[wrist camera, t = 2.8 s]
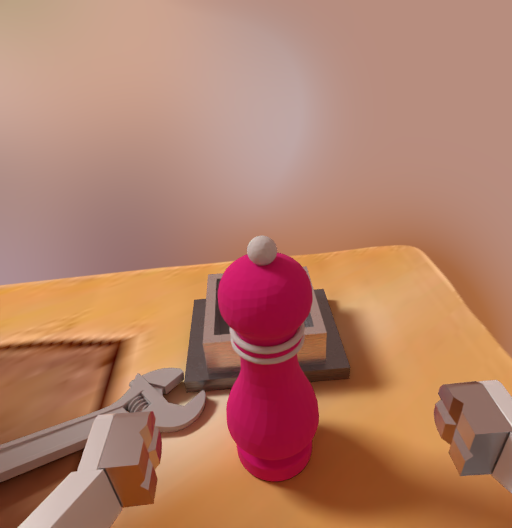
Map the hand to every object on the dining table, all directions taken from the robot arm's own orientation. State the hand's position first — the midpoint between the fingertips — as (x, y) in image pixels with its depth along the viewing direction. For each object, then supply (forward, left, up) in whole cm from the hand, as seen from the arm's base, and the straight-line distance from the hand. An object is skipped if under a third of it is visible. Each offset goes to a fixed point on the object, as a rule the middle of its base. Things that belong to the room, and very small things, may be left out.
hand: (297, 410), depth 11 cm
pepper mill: (0, +13, -22) cm, 25 cm away
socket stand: (0, +26, -21) cm, 34 cm away
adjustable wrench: (-19, +15, -21) cm, 32 cm away
